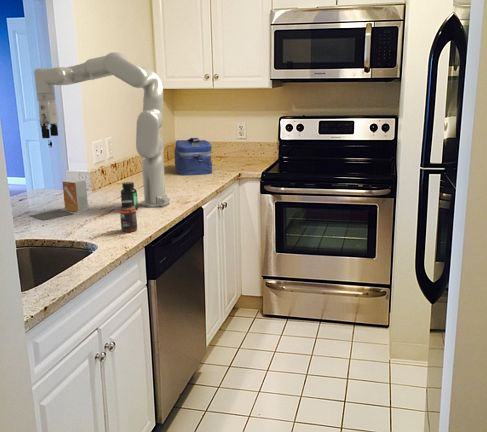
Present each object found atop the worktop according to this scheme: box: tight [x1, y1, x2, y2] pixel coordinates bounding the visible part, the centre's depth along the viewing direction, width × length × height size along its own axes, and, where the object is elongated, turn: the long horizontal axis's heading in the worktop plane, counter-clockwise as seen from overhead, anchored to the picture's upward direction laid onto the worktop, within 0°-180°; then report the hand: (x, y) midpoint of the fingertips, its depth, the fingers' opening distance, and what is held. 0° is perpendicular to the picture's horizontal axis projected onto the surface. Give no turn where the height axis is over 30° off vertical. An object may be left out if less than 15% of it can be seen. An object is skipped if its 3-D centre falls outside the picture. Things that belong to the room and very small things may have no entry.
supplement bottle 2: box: [119, 200, 138, 233], centre depth 210 cm, size 6×6×11 cm
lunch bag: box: [173, 137, 213, 177], centre depth 333 cm, size 31×21×20 cm
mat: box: [28, 208, 75, 221], centre depth 238 cm, size 12×14×1 cm
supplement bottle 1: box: [120, 181, 139, 211], centre depth 242 cm, size 7×7×12 cm
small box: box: [61, 178, 89, 213], centre depth 245 cm, size 8×6×13 cm
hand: (50, 137), depth 248 cm, fingers open, 9 cm apart
